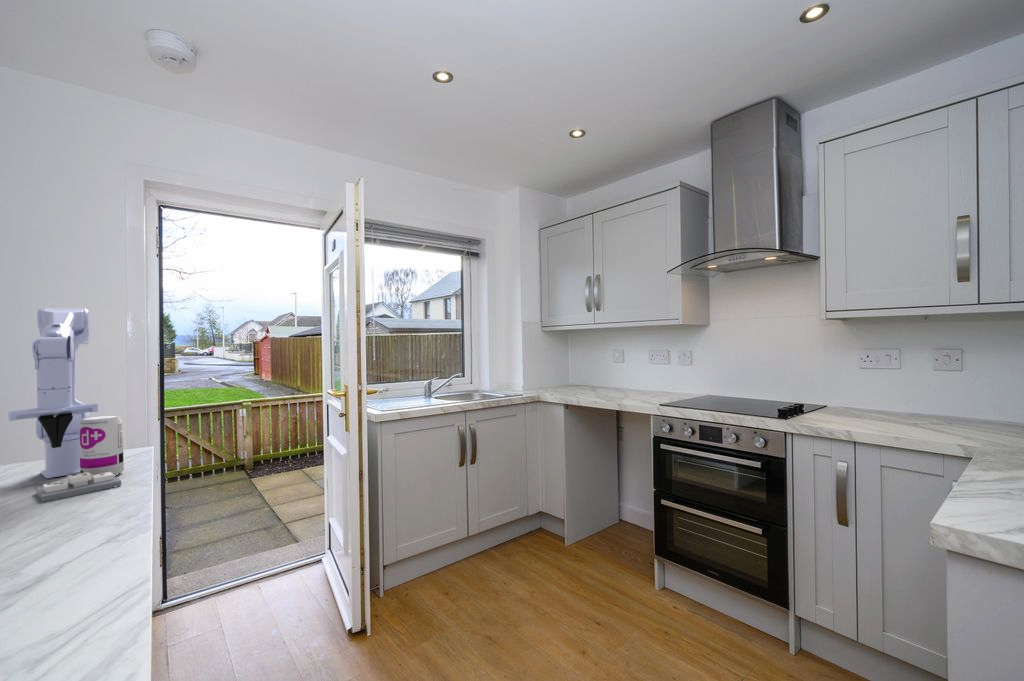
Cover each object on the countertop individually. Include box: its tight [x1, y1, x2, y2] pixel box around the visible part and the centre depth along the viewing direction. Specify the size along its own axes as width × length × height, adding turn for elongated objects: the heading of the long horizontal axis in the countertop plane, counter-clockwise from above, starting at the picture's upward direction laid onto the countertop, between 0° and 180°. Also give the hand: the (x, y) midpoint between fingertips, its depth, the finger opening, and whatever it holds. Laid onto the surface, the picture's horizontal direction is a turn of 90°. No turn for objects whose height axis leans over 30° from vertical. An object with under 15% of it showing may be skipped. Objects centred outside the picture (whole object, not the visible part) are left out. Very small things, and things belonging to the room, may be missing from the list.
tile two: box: [66, 472, 91, 487], centre depth 106 cm, size 4×4×2 cm
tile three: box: [42, 480, 68, 493], centre depth 103 cm, size 4×4×2 cm
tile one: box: [91, 472, 114, 483], centre depth 109 cm, size 4×4×2 cm
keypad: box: [35, 476, 122, 503], centre depth 106 cm, size 9×13×1 cm
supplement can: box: [79, 414, 125, 476], centre depth 117 cm, size 8×8×15 cm
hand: (56, 447), depth 106 cm, fingers closed
